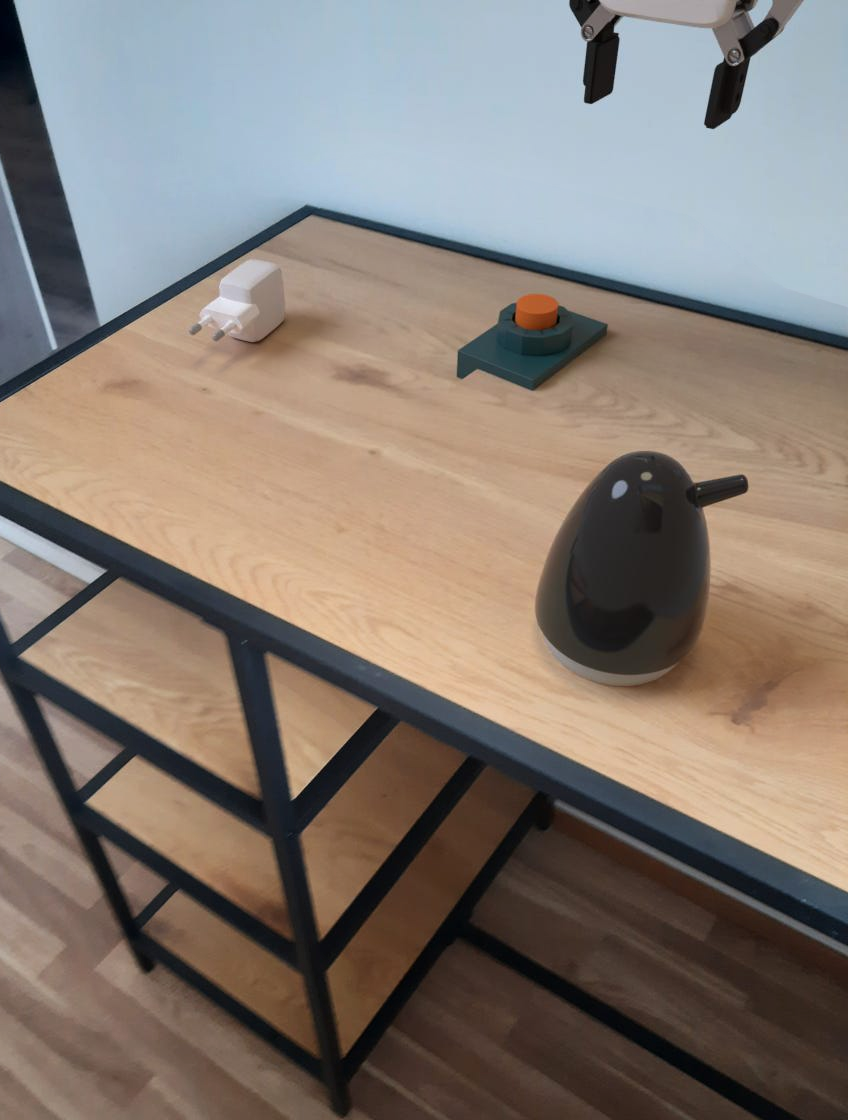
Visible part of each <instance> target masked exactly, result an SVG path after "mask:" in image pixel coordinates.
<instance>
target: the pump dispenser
mask: <svg viewBox="0 0 848 1120" xmlns="http://www.w3.org/2000/svg"><path fill="white" fill-rule="evenodd" d="M749 487H750V486H749V481H748V478H747V476H746V475H744V474H741V473H740V474H736V475H731V476H725V477H724V476H723V477H719V478H714V479H709V480H704V481H697V482H694V481H693V479H692V477H691V476H690V474H689V472H688V471H687V470H686V469H685V467H684V466H683V465H682V464H681V463H680V462H679V461H678V460H677V459H675V458H673V457H672V456H670V455H668V454H665V453H663V452H659V451H656V450H655V451H654V450H637V451H633V452H628V453H625V454H623V455H621V456H619V457H617V458H615V459H614V460H612V461H611V462H610V463H608V464H607V465H606V466H605V467H603V468H602V469H601V470H600V471H599V472H598V473H597V474H596V475H595V476H594V477H593V478H592V479H591V481H590V482H589V483H588V484H587V485H586V487H585V488H584V489H583V490H582V492H581V493H580V495H579V496H578V498H577V499H576V500H575V502H574V503H573V505H572V506H571V507H570V509H569V510H568V513H567V514H566V515H565V517H564V520H562V523H561V524H560V526H559V528H558V531H557V532H556V534H555V537H554V538H553V540H552V543H551V546H550V548H549V550H548V552H547V554H546V558H545V560H544V561H545V562H544V563H543V567H542V569H541V573H540V575H539V580H538V584H537V587H536V593H535V599H534V615H535V619H536V623H537V625H538V627H539V630H540V631H541V633H542V636H543V639H544V642H545V644H546V646H547V648H548V650H549V651H550V653H551V654H552V656H553V657H554V658H555V660H557V662H559V663H560V664H561V665H562V666H563V667H564V668H565V669H567V670H568V671H569V672H571V673H572V674H575V675H576V676H578V677H580V678H582V679H585V680H587V681H590V682H592V683H596V684H600V685H605V686H612V687H633V686H640V685H645V684H648V683H651V682H654V681H656V680H657V679H659V678H662V677H663V676H665V675H667V674H668V673H669V672H670V671H671V670H673V669H674V667H676V666H677V664H679V663H680V662H681V661H683V660H684V659H686V658H687V657H688V656H689V655H690V654H691V653H692V651H693V650H694V649H695V648H696V646H697V644H698V642H699V640H700V638H701V634H702V631H703V629H704V625H705V621H706V616H707V612H708V604H709V596H710V588H711V573H712V560H711V559H712V558H711V556H712V555H711V544H710V536H709V529H708V528H709V527H708V524H707V518H706V515H705V511H704V508H706V507H709V506H711V505H714V504H717V503H722V502H723V501H727V500H729V499H730V500H731V499H733V498H737V497H739V496H742V495H745V494H747V493H748V491H749Z"/></svg>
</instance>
